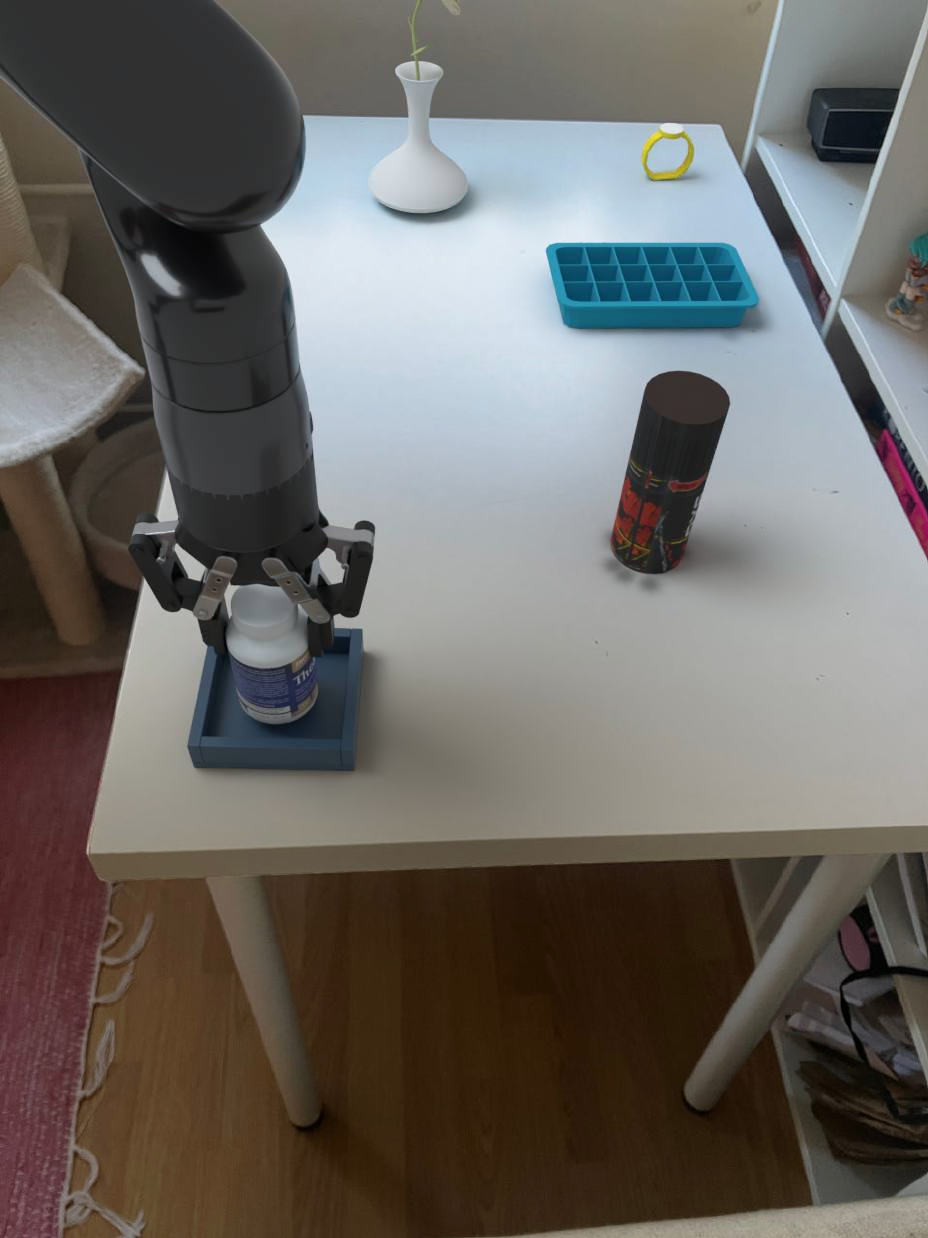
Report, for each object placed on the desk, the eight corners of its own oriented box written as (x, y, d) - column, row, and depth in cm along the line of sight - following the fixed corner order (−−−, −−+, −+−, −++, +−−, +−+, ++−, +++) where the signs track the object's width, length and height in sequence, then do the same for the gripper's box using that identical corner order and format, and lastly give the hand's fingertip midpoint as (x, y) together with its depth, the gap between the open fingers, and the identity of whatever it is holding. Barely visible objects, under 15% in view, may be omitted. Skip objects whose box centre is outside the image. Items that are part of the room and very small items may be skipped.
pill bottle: (314, 728, 67) (303, 637, 59) (233, 725, 66) (211, 633, 59) (323, 664, 70) (313, 569, 63) (245, 661, 70) (226, 566, 62)
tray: (193, 767, 66) (186, 746, 64) (217, 646, 73) (211, 624, 71) (354, 771, 67) (352, 749, 65) (363, 650, 73) (362, 628, 71)
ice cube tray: (754, 331, 101) (762, 305, 99) (556, 333, 99) (560, 306, 97) (726, 268, 108) (733, 242, 106) (541, 268, 107) (544, 242, 104)
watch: (684, 171, 122) (695, 121, 117) (690, 182, 120) (701, 132, 116) (636, 172, 121) (645, 122, 117) (641, 183, 120) (651, 133, 115)
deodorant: (614, 514, 83) (648, 364, 72) (686, 527, 83) (731, 378, 71) (606, 566, 79) (640, 416, 68) (681, 579, 79) (728, 430, 67)
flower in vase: (467, 226, 112) (480, -30, 92) (364, 221, 111) (356, -36, 92) (468, 169, 120) (480, -76, 101) (372, 164, 120) (366, -82, 100)
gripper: (76, 485, 48) (146, 690, 61) (374, 495, 49) (381, 696, 62) (111, 389, 53) (169, 597, 66) (382, 399, 54) (387, 604, 67)
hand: (271, 644), depth 64 cm, fingers closed on pill bottle, 5 cm apart
